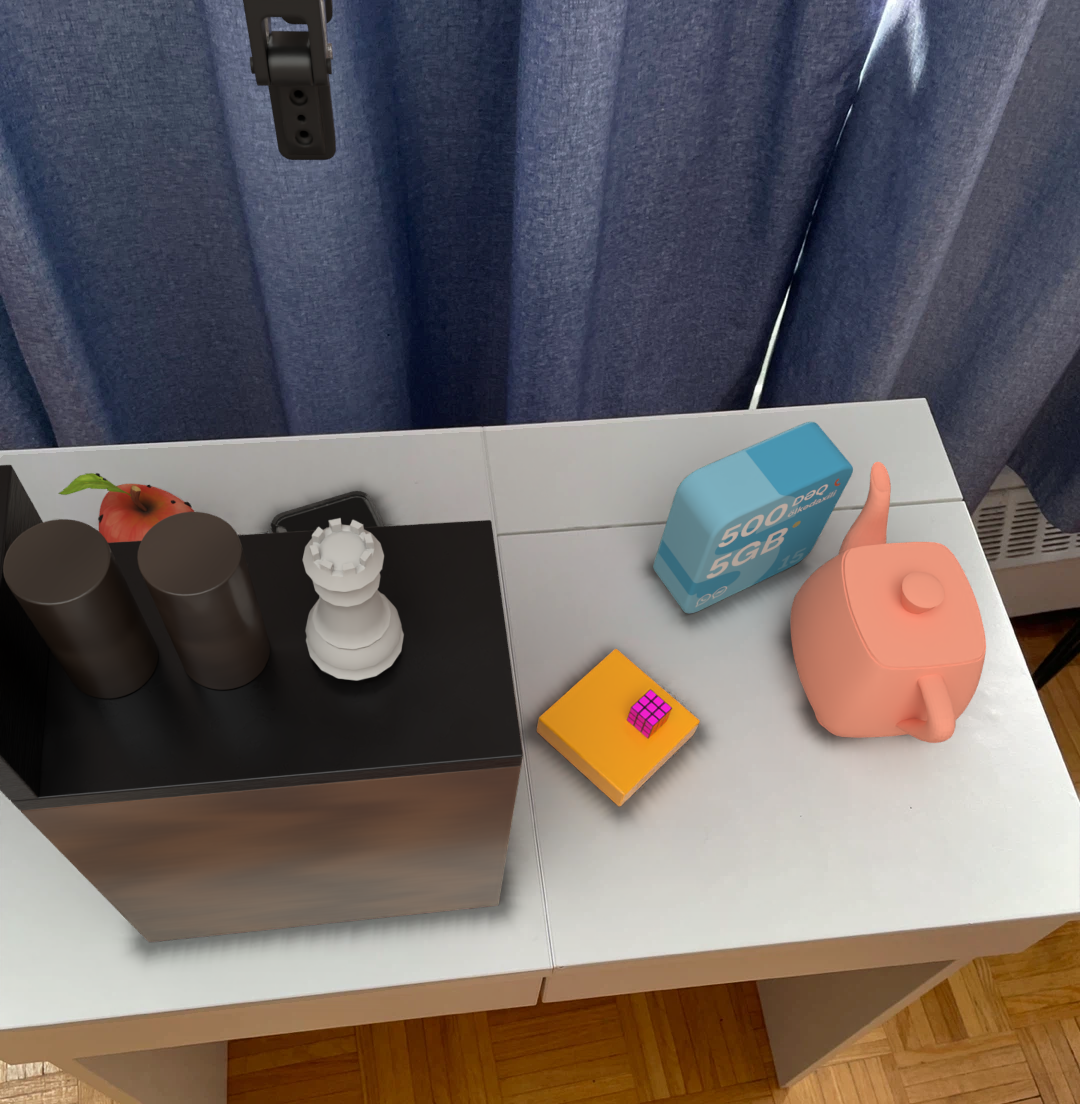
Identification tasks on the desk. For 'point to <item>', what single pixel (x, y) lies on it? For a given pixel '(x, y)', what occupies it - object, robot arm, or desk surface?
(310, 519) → the phone
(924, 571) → the teapot
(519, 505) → the desk surface
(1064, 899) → the desk surface
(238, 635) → the dark brown cylinder
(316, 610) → the rook chess piece
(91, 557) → the dark brown cylinder
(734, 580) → the data package
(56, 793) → the black flat slab
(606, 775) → the orange square tile
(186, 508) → the apple
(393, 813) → the wooden panel
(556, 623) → the desk surface
